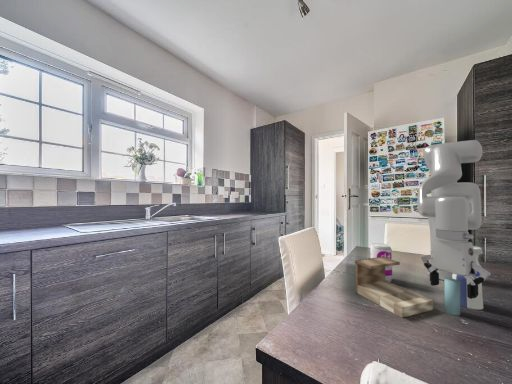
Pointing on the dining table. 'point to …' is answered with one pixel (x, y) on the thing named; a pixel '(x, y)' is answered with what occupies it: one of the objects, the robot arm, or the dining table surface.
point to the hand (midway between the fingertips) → (452, 290)
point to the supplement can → (382, 251)
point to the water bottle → (464, 300)
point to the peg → (452, 296)
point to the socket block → (387, 288)
